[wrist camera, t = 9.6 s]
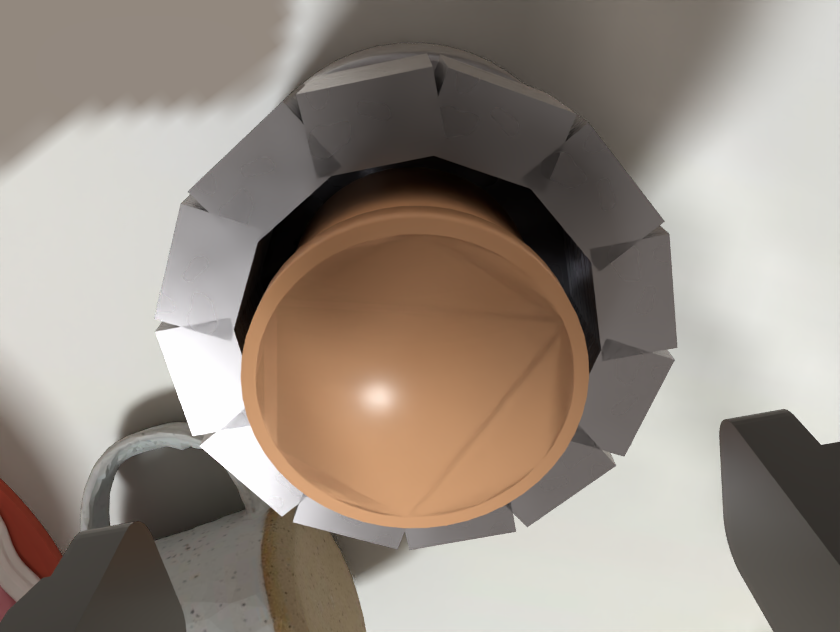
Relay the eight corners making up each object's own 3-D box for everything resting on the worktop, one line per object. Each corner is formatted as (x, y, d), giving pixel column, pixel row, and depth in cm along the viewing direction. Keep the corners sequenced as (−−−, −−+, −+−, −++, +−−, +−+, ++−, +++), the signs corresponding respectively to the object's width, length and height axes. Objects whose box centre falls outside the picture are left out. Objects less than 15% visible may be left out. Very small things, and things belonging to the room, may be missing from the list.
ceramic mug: (385, 600, 29) (379, 790, 22) (196, 669, 30) (132, 871, 23) (251, 370, 26) (192, 510, 19) (42, 458, 27) (-90, 621, 20)
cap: (521, 131, 17) (567, 185, 12) (555, 374, 19) (605, 498, 14) (250, 184, 17) (195, 258, 12) (316, 417, 19) (291, 552, 15)
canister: (555, 9, 21) (654, 20, 13) (593, 333, 25) (688, 502, 17) (204, 81, 22) (84, 137, 14) (294, 388, 26) (243, 578, 17)
